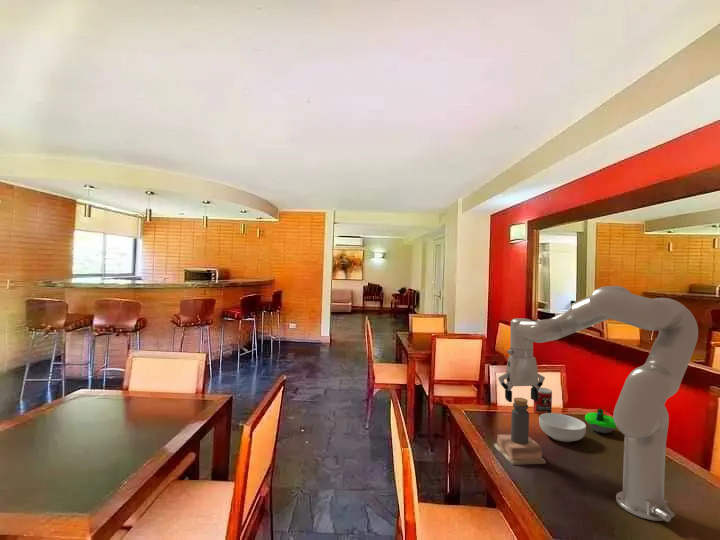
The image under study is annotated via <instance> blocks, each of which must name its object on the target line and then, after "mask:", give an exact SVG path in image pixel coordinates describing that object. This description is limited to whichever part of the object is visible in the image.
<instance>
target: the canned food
mask: <svg viewBox="0 0 720 540" xmlns="http://www.w3.org/2000/svg"><path fill="white" fill-rule="evenodd" d="M552 400H553V391H552V390H551V389H549V388H546V387H542V386H541V387H540V389H539V390H538V398H537V401H534V400H533V412H535V413H534V414H536V413H537V414H536V415H538V414H539V415H538V416H540V415H541V414H544V413H552V405H553V404H552V403H553V402H552Z"/></svg>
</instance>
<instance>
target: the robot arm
mask: <svg viewBox="0 0 720 540" xmlns="http://www.w3.org/2000/svg"><path fill="white" fill-rule="evenodd" d="M607 320H614V321H615V322H619V323H623V324H626V325H629V326H632V327H636V328H638V329H641V330H646V331H651V332H652V331H653V332H655V331H658V334H657V336H656V339H655V340H654V341H653V344H652V346H651V349H650V352H649V354H648V357H647V358H646V361H645V362H644V364H642V365H640V366H639V367H636V368H634V369H633V370H632V371H631V372H630V373H629V374H628V376H627V377H626V379H625V381H624V384H623V387H622V388H621V391H620V393H619V396H618V399H617V401H616V403H615V407H614V409H613V415H612V416H613V418H614V422H615V425H616V428H617V430H618V431H619V432H620V433H622V435H624V441H623V467H622V470H623V472H622V491H619V492H617V493H616V495H615V501H616V503H617V504H618V505H619V506H620V507H621V508H622V509H623V510H625V511H626V512H628V513H630V514H631V515H634V516H636V517H639V518H642V519H644V520H645V519H646V520H650V521H653V522H655V521H657V522H662V521H665V522H666V523H669V522H671V520H672V518H675V515H676V513H675V512H673V511H672V510H670V508H669V507H668V500H666V499H665V471H666V450H667V449H666V447H667V437H668V430H669V421H670V416H669V411H668V409H667V407H666V405H665V404H666V403H667V400H668V399H669V398H671V397H673V396H674V395H675V394H677V392H678V391H679V389H680V386H681V384H682V381H683V378H684V375H685V373H686V371H687V368H688V367H689V363H690V362H691V359H692V356H693V354H694V351H695V348H696V345H697V342H698V338H699V327H698V322H697V320H696V318H695V316H694V315H693V313H692V312H691V311H690V309H688V308H687V307H686V306H685V305H684V304H682V303H681V302H680V301H677V300H675V299H672V298H670V297H669V298H668V297H655V298H650V297H647V296H646V297H645V296H643V295H642V296H641V295H638V294H635V293H634V294H633V293H632V292H631V291H630V290H629V289H628V288H625V287H624V286H620V285H606V286H604V285H603V286H601V287H597V288H596V289H595V290H593V292H592V293H591V294H590V296H587V297H585V298H582V299H580V300H578V301H575V302H574V303H572V304H571V305H570V308H569V309H568V310H567V311H565V312H563V313H561V314H558V315H556V316H553V317H552V318H551V317H550V318H546V319H538V320H532V319H529V318H525V317H524V318H523V317H522V318H517V317H515V318H512V319H511V320H510V347H509V349H507V351H506V353H507V354H509V356H508V359H507V364H506V373H504V374H501V375H500V376H499V377H498V378H497V379H498V382H499V383H500V386H502V388H503V389H504V398H505V400H506V401H507V402H508V403H512V402H513V391H512V388H514V387H531V388H530V399H531V400H533V402H534V401H537V398H538V390H539V389H540V387H542V386H543V384H544V382H545V379H546V378H545V376H544V375H542V374H539V371H538V365H537V358H536V357H535V356H534V343H536V344H537V343H538V344H540V343H541V344H542V343H547V342H551V341H556V340H559V339H562V338H564V337H567V336H570V335H572V334H574V333H577V332H580V331H581V330H582V331H583V330H585V329H587V328H591V327H592V326H594V325H595V326H596V325H597V324H600V323H603V322H604V321H607ZM505 380H506V383H505Z"/></svg>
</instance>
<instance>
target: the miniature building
mask: <svg viewBox="0 0 720 540" xmlns="http://www.w3.org/2000/svg"><path fill="white" fill-rule="evenodd" d="M596 410H597V411H596V412H592V411H591V412H587V413H586V414H585V416H584V420H585V421H586V423H587V425H588V426H589V428H591V429H592V430H593V431H594V432H597V433H600V434H609V433H611V432H613V431H615V429H616V428H617V427H616V425H615V422H614V418H613V417H612V416H610V415H607V414H604V409H601V407H599V408H597V409H596Z"/></svg>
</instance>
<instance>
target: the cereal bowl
mask: <svg viewBox="0 0 720 540" xmlns="http://www.w3.org/2000/svg"><path fill="white" fill-rule="evenodd" d="M538 416H539V417H538V423H539V427H540V429H541V430H542V432H543V433H545V435H547V436H549V437H550V438H552V439H553V440H555V441H558V442H562V443H571V442H575V441H576V442H577V441H580V440H581V439H583V438H584V436H585V434H586V431H587V425H586V423H585V422H584V421H583V420H581V419H578V418H576V417H574V416H570V415H567V414H563V413H556V412H551V413H544V414H541V415H538Z"/></svg>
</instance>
